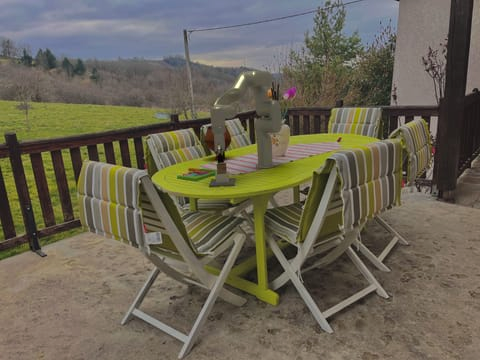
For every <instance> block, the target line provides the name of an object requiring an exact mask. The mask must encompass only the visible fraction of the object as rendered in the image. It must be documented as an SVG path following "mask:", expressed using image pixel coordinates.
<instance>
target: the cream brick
mask: <svg viewBox="0 0 480 360" xmlns="http://www.w3.org/2000/svg"><path fill="white" fill-rule="evenodd" d="M214 176H215V179H216V183H226V182H229V178H230V173H229V171H227V173H226V174H217V172H216V174H215V175H214Z"/></svg>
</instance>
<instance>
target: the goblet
mask: <svg viewBox="0 0 480 360" xmlns="http://www.w3.org/2000/svg"><path fill="white" fill-rule="evenodd" d="M225 125H226V124H225ZM206 128H207V129H206V132H205V135H204V144H205V145H206V147H207V148H208V149H209V150H210V151H212V152H214V154H215V155H216V156H215V157H214V158H213V160H216V161H215V162H218V158H217V156H218V155H217V151H216V152H215V144H214V133H212V125H209V126H207V127H206ZM230 133H231V132H230V131H229V128H228V125H226V132H225V133H224V139H225V149H224V151H226V150H227V149H228V148H229V147H230V145H231V143H232V136H231V134H230ZM226 159H227V158H226V157H225V159H224V161H226Z"/></svg>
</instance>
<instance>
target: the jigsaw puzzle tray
mask: <svg viewBox="0 0 480 360" xmlns="http://www.w3.org/2000/svg"><path fill="white" fill-rule="evenodd" d="M187 171H188V172H187V173H183V174H179V175H177V176H176V178H177V180H185V181H191V182H199V181H202V180H206V179H208V178H210V177H214V176H215V174H216V172H217V169H214V168H213V169H212V168H206V167H203V168H197V167H196V168H195V167H188V169H187Z"/></svg>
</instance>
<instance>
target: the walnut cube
mask: <svg viewBox="0 0 480 360" xmlns="http://www.w3.org/2000/svg"><path fill="white" fill-rule="evenodd" d="M216 170H217V174H226V173H227V172H228V171H227V170H228V169H227V162H224V163H218V162H217V163H216Z"/></svg>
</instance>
